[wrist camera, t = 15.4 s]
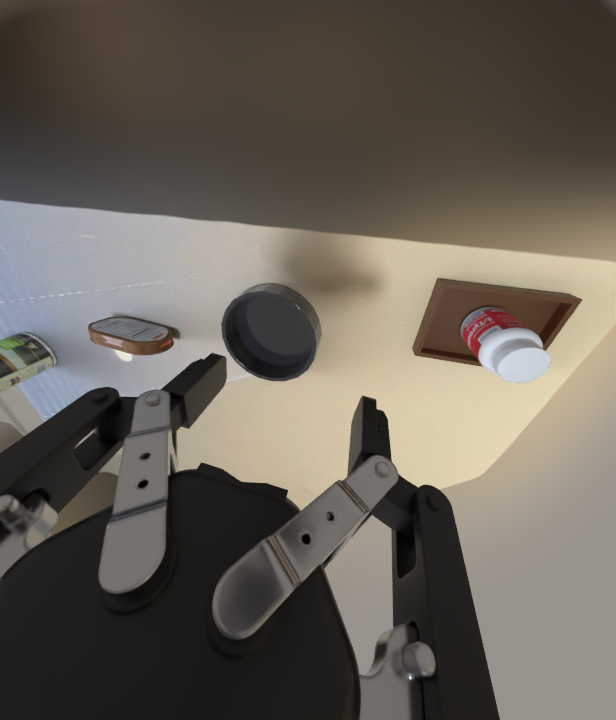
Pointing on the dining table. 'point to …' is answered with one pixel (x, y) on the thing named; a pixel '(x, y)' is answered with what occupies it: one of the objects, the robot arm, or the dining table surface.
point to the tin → (131, 335)
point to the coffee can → (23, 359)
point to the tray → (462, 298)
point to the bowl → (272, 332)
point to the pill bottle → (505, 345)
